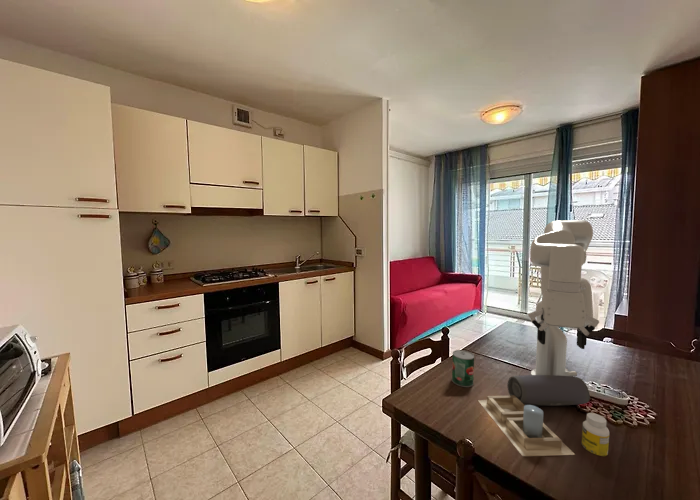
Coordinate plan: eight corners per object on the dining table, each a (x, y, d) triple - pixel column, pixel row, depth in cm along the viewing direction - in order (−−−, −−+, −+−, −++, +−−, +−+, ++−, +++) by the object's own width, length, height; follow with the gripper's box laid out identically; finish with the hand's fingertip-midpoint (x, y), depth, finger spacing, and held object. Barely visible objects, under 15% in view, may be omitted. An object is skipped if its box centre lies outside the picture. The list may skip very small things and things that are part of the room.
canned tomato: (475, 388, 107) (476, 359, 106) (453, 385, 108) (454, 357, 107) (471, 377, 114) (471, 350, 114) (450, 375, 116) (451, 349, 115)
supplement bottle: (575, 445, 79) (578, 411, 78) (594, 443, 79) (596, 410, 78) (594, 461, 73) (596, 424, 72) (613, 459, 74) (616, 423, 73)
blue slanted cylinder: (534, 430, 82) (535, 404, 82) (545, 442, 78) (547, 415, 77) (518, 431, 82) (520, 404, 82) (529, 443, 78) (531, 415, 77)
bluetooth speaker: (566, 397, 102) (568, 370, 101) (590, 413, 92) (592, 383, 92) (505, 397, 100) (507, 369, 100) (522, 413, 91) (524, 383, 91)
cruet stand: (477, 403, 97) (477, 393, 97) (517, 402, 98) (517, 392, 98) (522, 460, 73) (523, 447, 73) (575, 458, 74) (575, 445, 74)
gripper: (593, 287, 84) (589, 344, 85) (526, 283, 89) (523, 337, 90) (607, 291, 77) (603, 354, 77) (533, 287, 82) (530, 345, 83)
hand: (560, 345), depth 84 cm, fingers open, 9 cm apart
